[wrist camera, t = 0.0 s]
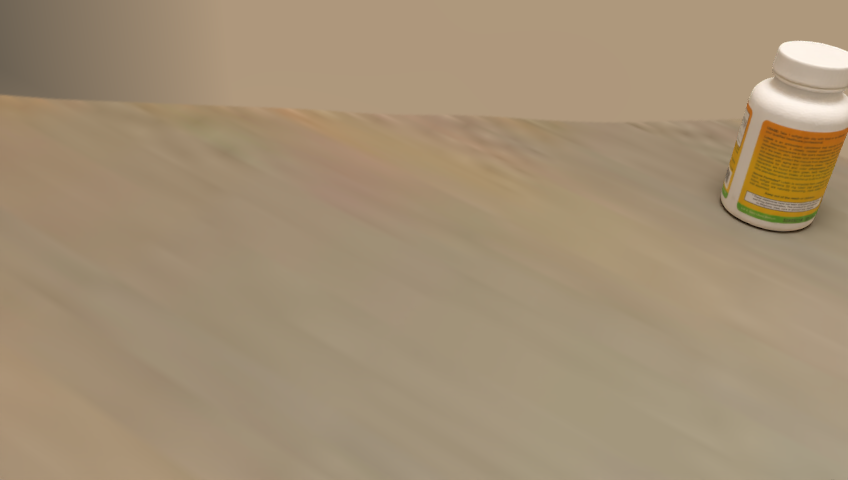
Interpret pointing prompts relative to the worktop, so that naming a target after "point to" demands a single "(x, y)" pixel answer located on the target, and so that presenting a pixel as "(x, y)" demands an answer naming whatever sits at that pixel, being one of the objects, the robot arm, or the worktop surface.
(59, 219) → the worktop surface
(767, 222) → the supplement bottle
